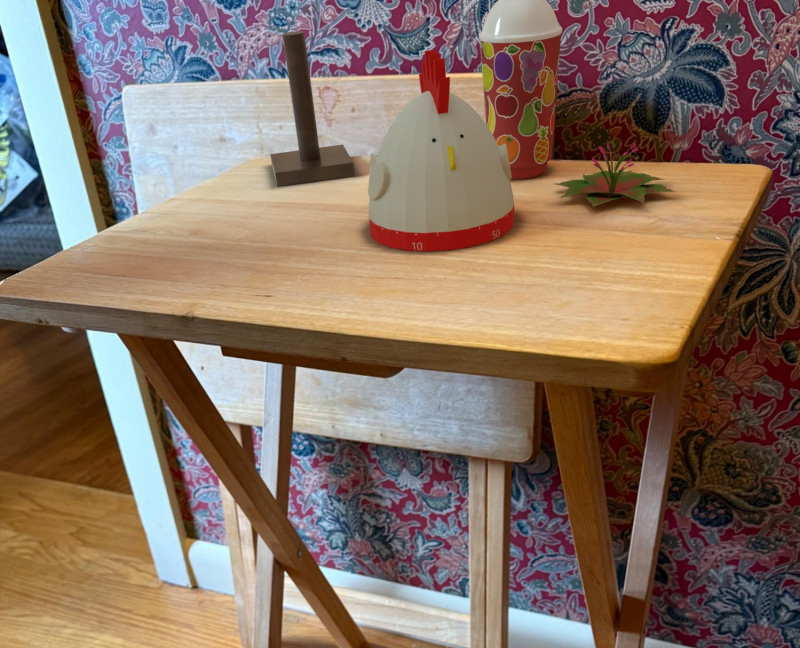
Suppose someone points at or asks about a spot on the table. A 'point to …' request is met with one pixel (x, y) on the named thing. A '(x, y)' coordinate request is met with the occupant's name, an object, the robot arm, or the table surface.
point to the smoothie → (521, 81)
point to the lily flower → (613, 182)
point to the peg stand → (306, 127)
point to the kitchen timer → (439, 173)
